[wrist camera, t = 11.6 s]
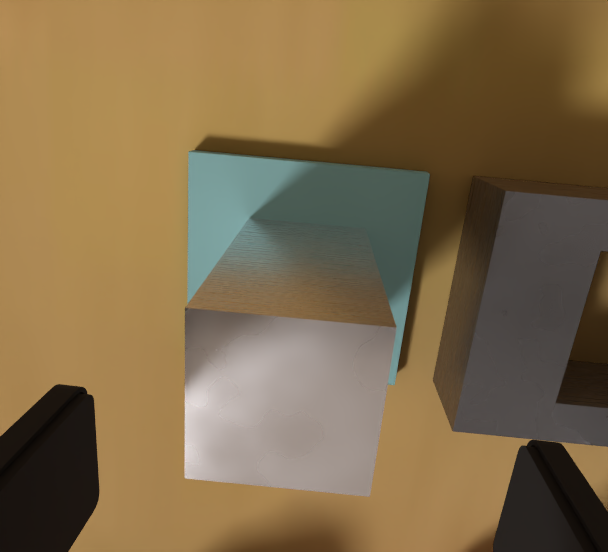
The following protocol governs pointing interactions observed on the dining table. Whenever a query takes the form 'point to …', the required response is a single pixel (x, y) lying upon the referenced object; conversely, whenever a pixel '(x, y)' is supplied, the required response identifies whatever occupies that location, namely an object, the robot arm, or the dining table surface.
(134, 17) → the dining table surface
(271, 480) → the steel peg
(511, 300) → the rail
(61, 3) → the dining table surface
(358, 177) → the teal mat
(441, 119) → the dining table surface
